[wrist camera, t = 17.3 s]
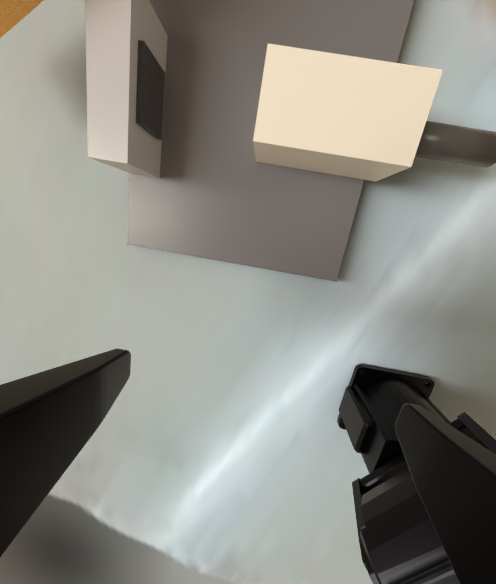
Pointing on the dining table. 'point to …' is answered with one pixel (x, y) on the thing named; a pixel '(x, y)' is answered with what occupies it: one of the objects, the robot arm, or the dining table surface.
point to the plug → (355, 116)
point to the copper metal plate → (14, 12)
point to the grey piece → (222, 123)
